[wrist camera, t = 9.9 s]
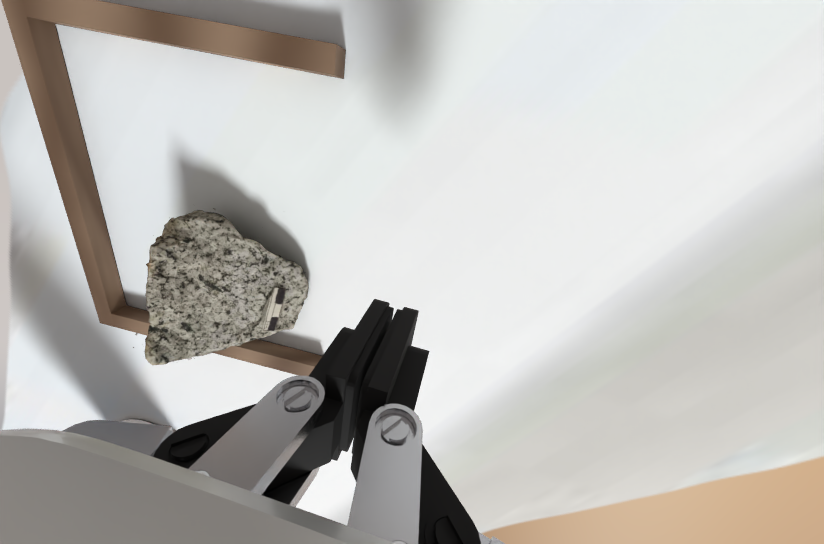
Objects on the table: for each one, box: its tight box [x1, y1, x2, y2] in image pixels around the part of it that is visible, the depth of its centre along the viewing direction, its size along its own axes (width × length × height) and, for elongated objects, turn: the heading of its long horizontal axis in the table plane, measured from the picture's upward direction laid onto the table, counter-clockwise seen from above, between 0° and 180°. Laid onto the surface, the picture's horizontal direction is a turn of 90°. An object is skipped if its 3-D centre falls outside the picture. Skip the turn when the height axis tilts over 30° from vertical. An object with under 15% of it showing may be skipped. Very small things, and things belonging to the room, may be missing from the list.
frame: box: [2, 0, 346, 376], centre depth 20 cm, size 17×20×1 cm
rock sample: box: [133, 205, 308, 365], centre depth 20 cm, size 10×8×9 cm
